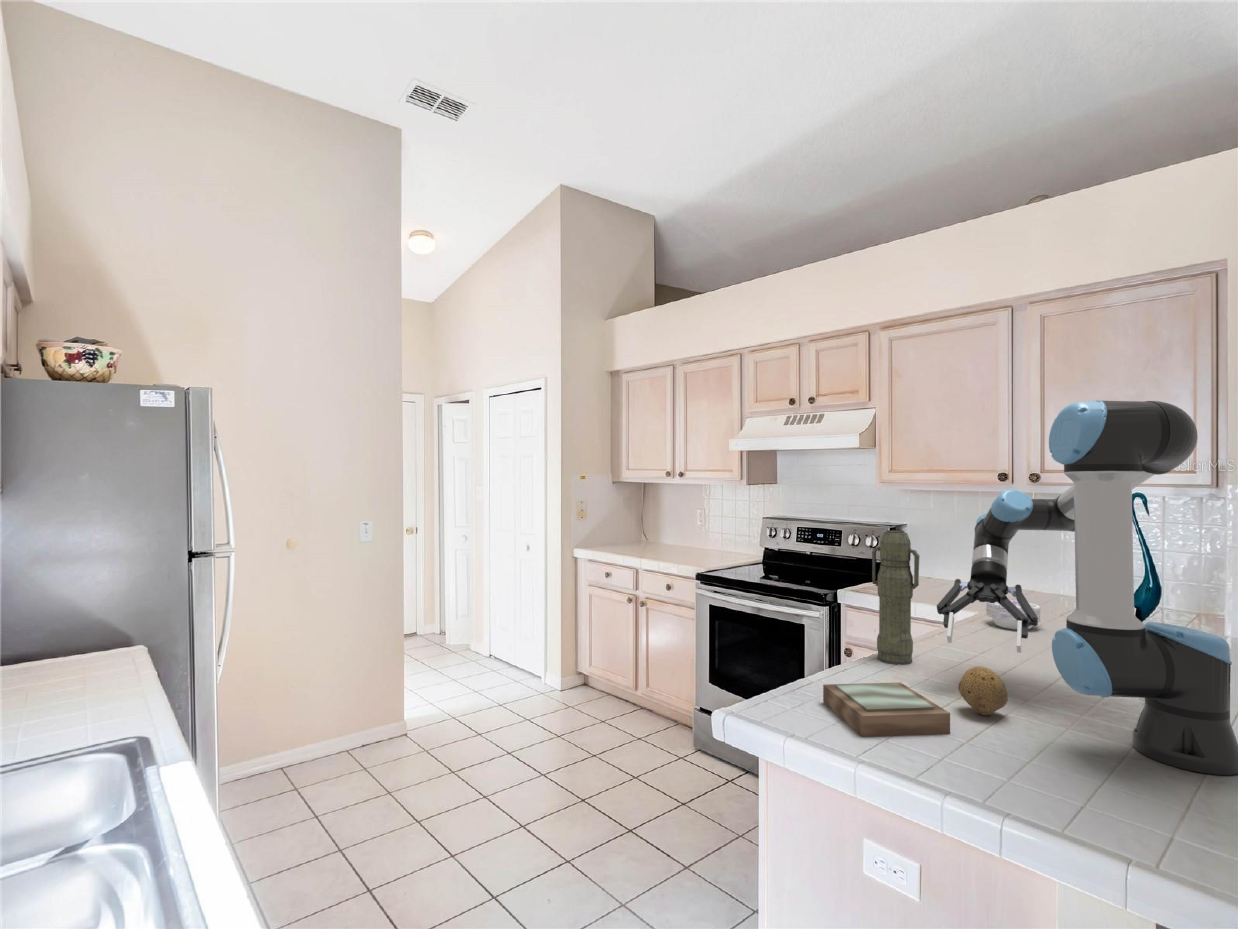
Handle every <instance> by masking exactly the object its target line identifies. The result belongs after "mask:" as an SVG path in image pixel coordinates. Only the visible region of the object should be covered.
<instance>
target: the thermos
mask: <svg viewBox="0 0 1238 929" xmlns="http://www.w3.org/2000/svg"><path fill="white" fill-rule="evenodd" d="M879 541H880V542H879V546H876V547H875V548H874V549H872V552H871V574H872V575H871V577H872V578H871V579H872V580H871V581H872V585H875V586H876V587H877V595H878V597H879V598H878V599H879V600H878V601H879V605H878V607H879V610H878V611H879V612H878V618H879V619H878V620H879V622H878V625H879V626H878V628H879V629H878V634H877V637H876V649H877V660H878V661H880V662H882V663H887V664H890V665H897V664H900V666H902V665H904V666H905V665H906V664H907V665H910V664H912V663H913V652H914V641H913V636H912V631H911V630H912V629H911V628H912V626H911V625H912V621H911V620H912V618H911V617H912V614H911V613H912V604H911V603H912V599H913V596H914V590H915V589H916V588H918V587H919V586H920V584H919V583H920V582H919V581H920V580H919V578H920V577H919V576H920V554H919V553H918V551H917V550H916V549H912V548H911V540H910V536H909V534H908V532H905V531H904V530H898V529H897V530H892V529H891V530H890V529H889V530H888V529H887V530H885V531H883V532H882V535H881V538H880V540H879ZM877 551H878V552H880V553H879V554H880V555H879V559H880V564H879V570H878V573H877ZM911 554H912V555H913V559H914V561H913V563H914V564H913V565H914V567H913V572H914V573H913V574H912V570H911V565H910V564H911V563H910V562H911ZM876 576H877V577H876Z"/></svg>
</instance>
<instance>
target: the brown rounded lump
mask: <svg viewBox="0 0 1238 929" xmlns="http://www.w3.org/2000/svg"><path fill="white" fill-rule="evenodd" d="M957 687H958V688H957V690H958V692H959V694H960V696H961V697H962V699H963V700H964V701H965V703H967V704H968V706H970V707H971V708H972V709H973V710H974V711H975V712H976V713H977V714H979V715H981V716H991V715H992V714H994V713H995V712H997V711H998V710H1000V709H1002V708H1004V707H1006V705H1007V703H1008V700H1009V694H1008V692H1007V688H1006V684H1005V683H1004V681H1003V679H1002V678H1001V676H1000V675H999V674H998V673H996V672H995V671H993V670H992V669H990V668H988V667H986V666H974V667H971V668H969V669H968V670H966V671H965V672H964V674H963V675H962V677H961V679H960V680H959V682H958V684H957Z"/></svg>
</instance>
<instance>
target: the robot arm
mask: <svg viewBox="0 0 1238 929" xmlns="http://www.w3.org/2000/svg"><path fill="white" fill-rule="evenodd" d="M1197 444H1198V429H1197V426H1196V424H1195V422H1194V420H1193V418H1192V416H1190V415H1189V414H1188V413H1187V412H1186V411H1185V410H1183V409H1181V408H1180V407H1179V406H1177V405H1174V404H1171V403H1169V402H1165V401H1158V400H1145V401H1140V400H1139V401H1138V400H1137V401H1136V400H1134V401H1133V400H1131V401H1130V400H1099V399H1097V400H1091V401H1089V400H1088V401H1078V402H1077V401H1076V402H1073V403H1070V404H1068V405H1066V406H1065V407H1064V408H1063V409H1062V410H1061V411H1059V413H1058V414H1057V416H1056V417H1055V418H1054V420H1053V423H1052V424H1051V427H1050V430H1049V435H1048V449H1049V453H1051V458H1052V459H1053V460H1054V461H1055V462H1056V463H1059V464H1061V465H1063V474H1064V475H1065V476H1066V477H1067V478H1069V480H1071V481H1072V482H1073V485H1072V486H1070V487H1068V489H1066V490H1064V492H1062V493H1061V494H1060V495H1059V496H1056V498H1031V497H1030V496H1029V495H1028V494H1027V493H1025V492H1023V491H1018V490H1017V489H1006V490H1003V491H1002V492H1000V494H998V496H997V497H996V498H995V499H994V500H993V502H992V503H991V506H990V508H989V510H988V511H987V512H986V513H984V514H981V515H980V516H978V518H977V519H976V523H975V526H974V540H973V550H972V551H973V552H972V557H971V558H972V559H971V560H972V561H971V569H970V578H969V581H968V582H965V581H961V579H960V578H956V579H955V580H954V584H953V586H952V587H951V588H950V589H949V591H948V592H947V593H946V594H945V595H944V596H943V597H942V598H941V600H940V601H939V602H938V603H937V604H936V611H937V614H938V615H942V616H943V626H944V628H946V629H947V630H946V631H947V632H946V638H947V643H953V633H954V632H953V631H954V623H955V616H954V615H955V614H957V613H959V612H960V611H961V610H963V609H964V608H966V607H967V606H969V605H970V604H974V603H975V602H976V601H978V602H980V603H986V602H989V603H995V602H998V603H999V604H1000V605H1001V606H1002V607H1004V608H1005V609H1006V610H1007V611H1008V612H1009V613H1010V614H1011V615H1012V616H1013V617H1014V618H1015V619H1016V620H1017V621H1018V627H1017V630H1016V632H1017V633H1016V652H1017V653H1020V654H1021V653H1022V641H1023V639H1025V640H1026V639H1028V638H1029V629H1028V627H1029V626H1031V625H1033V626H1032V627H1037V626H1038V625H1039V622H1038V617H1037V615H1036V614H1035V612H1034V611H1033V609H1032V608H1031V606H1030V604H1029V603H1030V602H1029V601H1028V600H1027V598H1026V597H1025V595H1024V593H1023V590H1022V585H1020V584H1015V586H1008V585H1007V580H1008V579H1007V578H1008V576H1007V575H1008V565H1009V564H1008V562H1009V546H1010V542H1011V540H1012V539H1013V537H1015V535H1016V534H1017V532H1019V531H1053V532H1054V531H1059V532H1074V565H1075V566H1074V568H1075V570H1074V571H1075V572H1074V574H1075V577H1074V578H1075V580H1074V582H1075V609H1074V610H1073V612H1071V613H1069V614H1068V615H1067V616H1066V617H1065V618H1066V620H1065V621H1066V622H1065V623H1066V627H1065V628H1062V629H1059V630H1057V631H1055V633H1054V636H1053V637H1052V639H1051V653H1052V657H1053V661H1054V664H1055V667H1056V669H1057V672H1058V673H1059V674H1060V676H1061V678H1062V679H1063V680H1064V682H1065V684H1067V686H1069V688H1070V689H1072V690H1074V691H1075V692H1077V693H1079V694H1081V695H1087V696H1096V697H1100V698H1109V697H1115V698H1116V697H1117V698H1140V699H1141V698H1143V699H1144V705H1143V706H1144V707H1143V709H1142V710H1141V712H1140V715H1139V717H1138V721H1137V724H1136V726H1135V727H1134V729H1133V731H1132V746H1133V747H1134V748H1135V750H1136V751H1138V752H1139V753H1141V754H1142V755H1144V756H1147V757H1148V758H1150V759H1153V760H1155V761H1158V762H1160V763H1163V764H1165V765H1169V766H1172V767H1175V768H1178V769H1179V768H1180V769H1182V770H1187V771H1190V772H1191V771H1192V772H1196V773H1197V772H1198V773H1202V774H1208V775H1217V776H1218V775H1219V776H1220V775H1223V776H1232V775H1238V740H1237V738H1236V737H1237V736H1236V734H1235V731H1234V729H1233V726H1232V723H1231V672H1232V671H1231V668H1232V667H1231V665H1232V664H1233V663H1232V661H1231V652H1230V645H1229V643H1228V642H1227V640H1225V639H1224V638H1223V637H1221V636H1219V635H1216V634H1213V633H1210V632H1206V631H1204V630H1198V629H1194V628H1191V627H1185V626H1181V625H1175V624H1170V623H1165V622H1157V621H1149V622H1146V623H1145V624H1144V623H1143V621H1141V620H1140V619H1139V618H1137V616H1136V615H1135V587H1134V586H1135V582H1134V581H1135V580H1134V578H1135V577H1134V534H1133V533H1134V532H1133V530H1134V529H1133V490H1134V489H1135V488H1136V487H1138V486H1140V485H1141V484H1142V483H1144V482H1146V481H1147V480H1149V479H1150V478H1152V477H1154V476H1159V475H1160V476H1161V475H1165V474H1168V473H1169V472H1171V471H1173V470H1174V469H1176V468H1178V467H1179V466H1180V465H1182V464H1183V463H1184V462H1186V461H1187V459H1188V458H1189V457H1191V455H1193V453H1194V451H1195V448H1196V446H1197ZM965 589H967V592H966V593H965V594H964V595H962V596H961V597H960V598H958V596H959V595H960V593H961V592H963V591H964V590H965ZM1008 594H1011V595H1012V596H1013V597H1014V598H1016V601H1018V603H1019V605H1020V606H1021V608H1022V609H1023V611H1024V613H1025V614H1026V616H1027V617H1026V616H1025V615H1024V614H1023V613H1022V612H1021V611H1020V610H1019V609H1018V608H1017V607H1016V606H1015V605H1014V604H1013V603H1012V602H1011V601H1010V600H1011V599H1009V598H1008V597H1007V595H1008ZM956 598H958V599H957V600H955V599H956Z"/></svg>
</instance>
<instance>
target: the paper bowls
mask: <svg viewBox="0 0 1238 929" xmlns="http://www.w3.org/2000/svg"><path fill="white" fill-rule="evenodd" d="M1009 600H1010V601H1011V602H1012V603H1013V604H1014V605H1015V606H1016V607H1017V608H1018V609H1019V610H1020V611H1021V612H1022V613H1023V614H1024V615H1025V616H1026V614H1025V613H1024V611H1023V609H1022V608H1021V606H1020V605H1019V603H1018V601H1017V600H1013V599H1009ZM985 603H986V607H985V609H986V611H985V612H986V613H985V614H986V616H988V618H991V619H992V621H993V623H994V624H995V625H996V626H997V627H1000V628H1002V629H1003V628H1004V629H1008V630H1015V631H1017V627H1018V621H1017V620H1016V619H1015V618H1014V617H1013V616H1012V615H1011V614H1010V613H1009V612H1008V611H1007V610H1006V609H1005V608H1004V607H1002V606H1001V605H1000V604H999V603H998V602H995V603H989V602H985ZM1028 603H1029V604H1030V606H1031V608H1032V609H1033V611H1034V612H1035V614H1036V615H1037V617H1038V623H1040V622H1041V606H1040V605H1038V604H1035V603H1032V602H1028ZM1026 617H1027V616H1026ZM1033 627H1034V626H1033V625H1031V626H1029V627H1028V630H1031V629H1032V628H1033Z"/></svg>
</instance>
